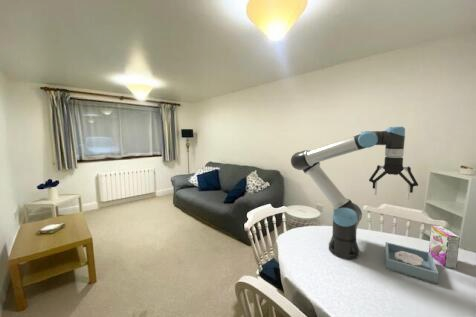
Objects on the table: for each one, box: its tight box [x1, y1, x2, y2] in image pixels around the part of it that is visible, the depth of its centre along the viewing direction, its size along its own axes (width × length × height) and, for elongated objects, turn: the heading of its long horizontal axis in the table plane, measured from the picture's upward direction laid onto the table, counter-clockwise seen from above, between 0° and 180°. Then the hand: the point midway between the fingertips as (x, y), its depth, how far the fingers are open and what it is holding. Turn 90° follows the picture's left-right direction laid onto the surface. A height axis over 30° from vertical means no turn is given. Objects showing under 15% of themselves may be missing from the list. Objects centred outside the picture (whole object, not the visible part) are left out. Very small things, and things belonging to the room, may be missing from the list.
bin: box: [384, 242, 440, 285], centre depth 98 cm, size 18×18×5 cm
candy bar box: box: [428, 224, 461, 269], centre depth 99 cm, size 11×5×16 cm, turn 168°
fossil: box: [395, 251, 424, 266], centre depth 98 cm, size 9×6×10 cm
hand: (391, 196), depth 105 cm, fingers open, 13 cm apart
